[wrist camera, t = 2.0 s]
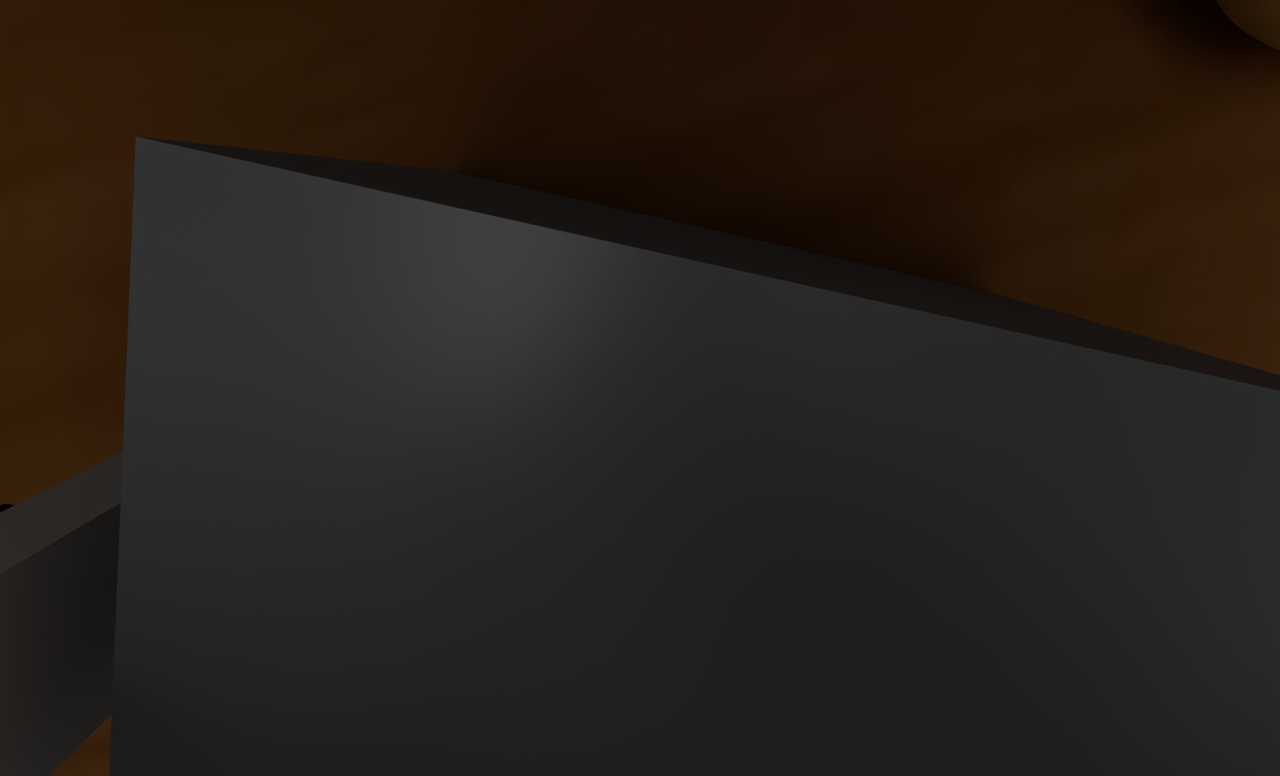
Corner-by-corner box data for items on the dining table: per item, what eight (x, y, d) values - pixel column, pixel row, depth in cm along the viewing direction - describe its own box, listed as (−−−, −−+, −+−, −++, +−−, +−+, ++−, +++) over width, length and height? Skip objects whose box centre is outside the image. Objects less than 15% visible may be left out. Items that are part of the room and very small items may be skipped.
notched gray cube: (453, 170, 13) (135, 135, 5) (985, 291, 14) (1521, 445, 6) (382, 650, 16) (92, 1173, 7) (834, 734, 17) (1043, 1305, 8)
